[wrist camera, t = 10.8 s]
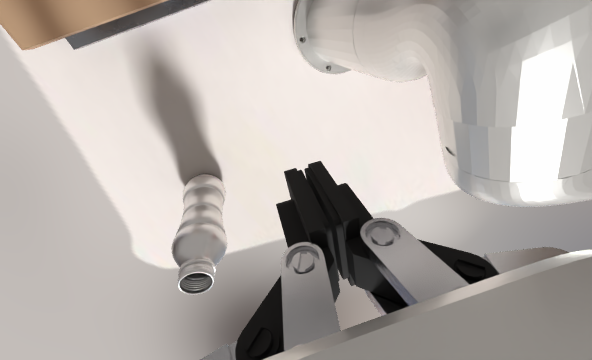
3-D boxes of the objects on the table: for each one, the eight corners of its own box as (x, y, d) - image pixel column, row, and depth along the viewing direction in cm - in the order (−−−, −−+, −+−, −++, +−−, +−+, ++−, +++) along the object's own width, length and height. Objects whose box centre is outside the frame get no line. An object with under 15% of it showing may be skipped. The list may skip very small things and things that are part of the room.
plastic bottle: (175, 185, 42) (146, 287, 26) (207, 162, 41) (198, 251, 25) (203, 208, 46) (193, 311, 29) (233, 187, 45) (240, 280, 28)
